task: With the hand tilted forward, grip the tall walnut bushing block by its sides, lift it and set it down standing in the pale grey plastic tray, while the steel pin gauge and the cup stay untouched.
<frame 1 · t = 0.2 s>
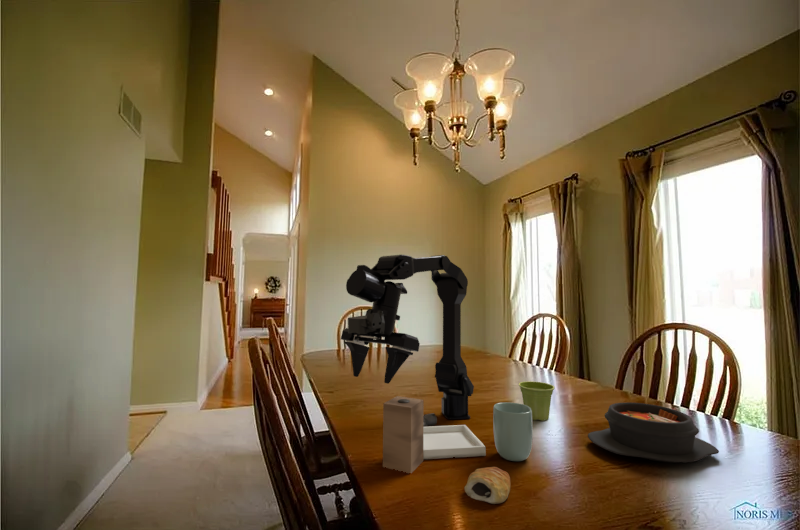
hand: (370, 379, 78), 15 cm above the table, tool tilted 15°, fingers open, 9 cm apart
tray: (446, 444, 82), on the table
cup: (513, 458, 76), on the table
bushing block: (403, 463, 72), on the table
pastry: (489, 493, 62), on the table
plant pot: (537, 418, 101), on the table
casserole: (650, 452, 79), on the table
pin gauge: (415, 428, 92), on the table
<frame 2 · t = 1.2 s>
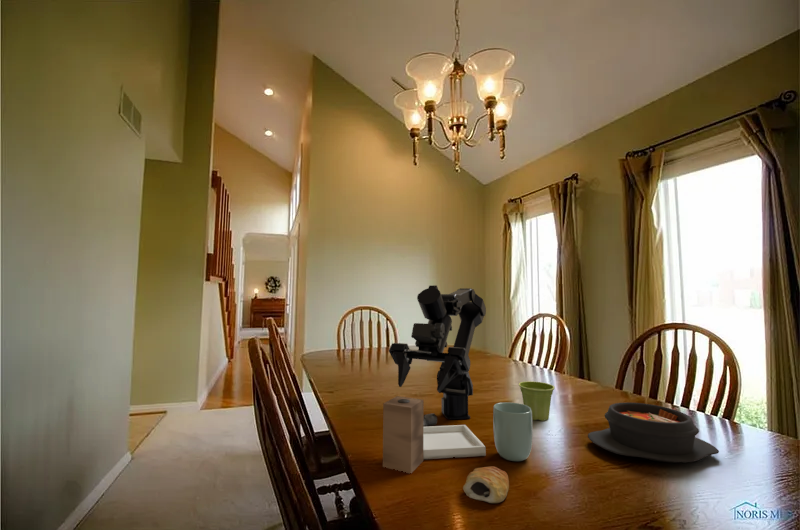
hand: (418, 388, 80), 13 cm above the table, tool tilted 45°, fingers open, 9 cm apart
nothing on the table moved.
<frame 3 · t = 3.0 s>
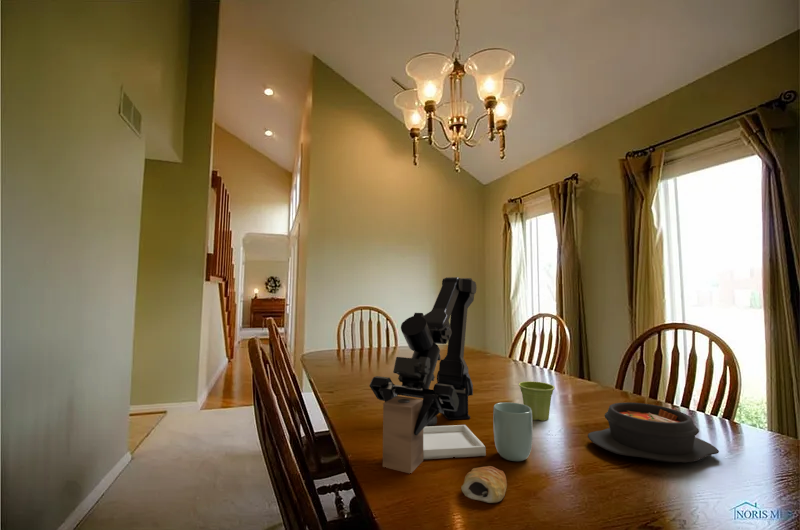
hand: (400, 431, 72), 7 cm above the table, tool tilted 45°, fingers closed on bushing block, 6 cm apart
bushing block: (403, 463, 72), on the table, touching gripper
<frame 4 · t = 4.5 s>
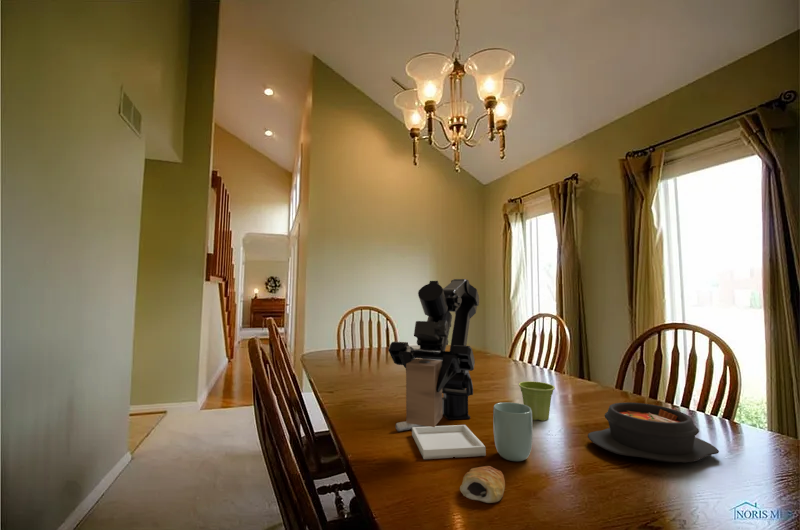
hand: (422, 389, 76), 14 cm above the table, tool tilted 45°, fingers closed on bushing block, 6 cm apart
bushing block: (424, 420, 77), point 7 cm above the table, touching gripper
everything else where it was.
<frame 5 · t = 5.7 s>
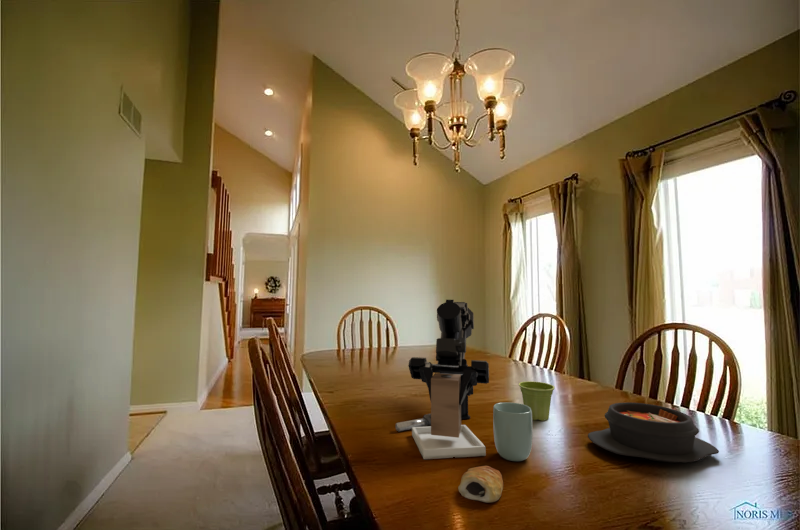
hand: (445, 402, 81), 9 cm above the table, tool tilted 45°, fingers closed on bushing block, 6 cm apart
bushing block: (446, 431, 82), point 3 cm above the table, touching gripper
when the fingers open (8 cm above the table, at t = 6.4 s): bushing block drops 1 cm, resting on tray.
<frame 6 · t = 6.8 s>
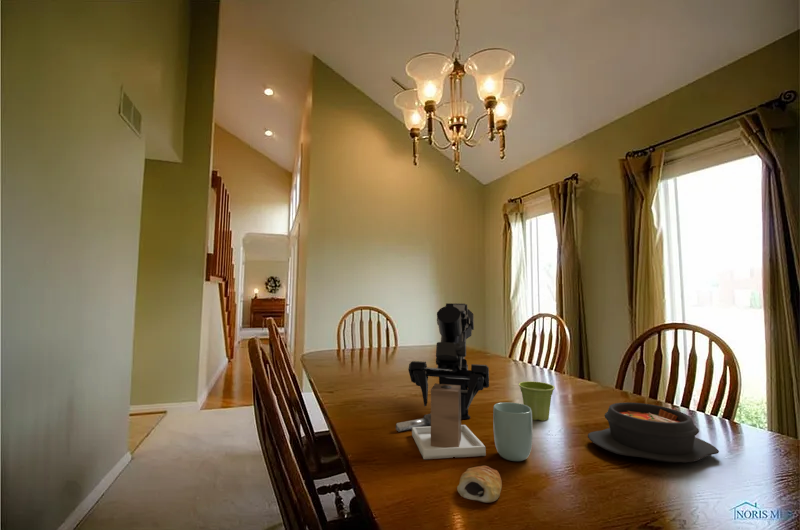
hand: (445, 407, 81), 9 cm above the table, tool tilted 45°, fingers open, 9 cm apart
bushing block: (446, 442, 82), resting on tray
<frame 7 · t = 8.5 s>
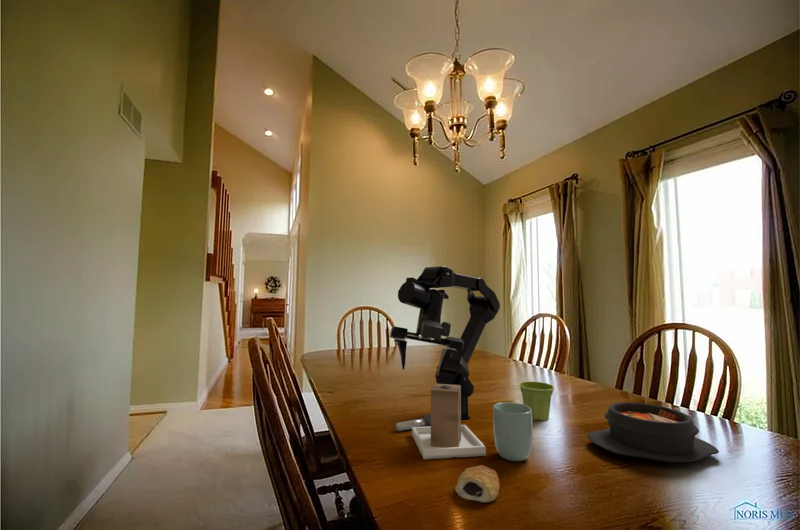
hand: (420, 372, 93), 14 cm above the table, tool pointing down, fingers open, 9 cm apart
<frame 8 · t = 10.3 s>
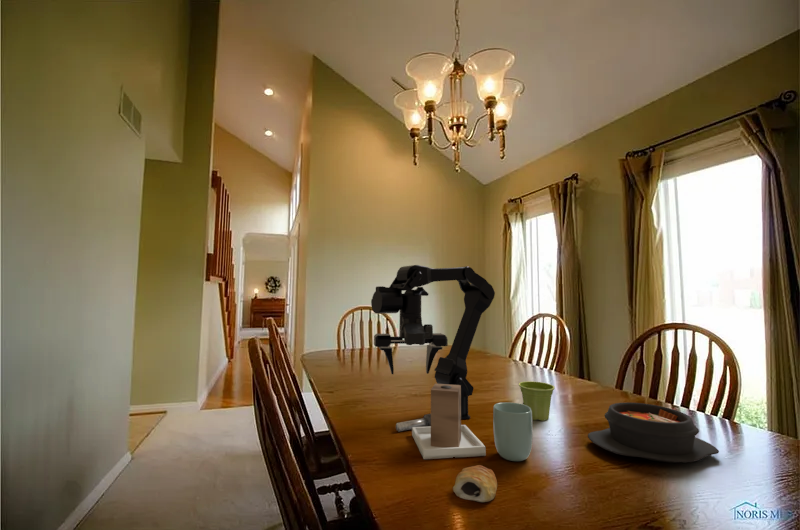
hand: (410, 373, 95), 13 cm above the table, tool pointing down, fingers open, 9 cm apart
at the end: bushing block inside the target area on the tray (0.0 cm from its centre), point 0.5 cm above the tray's base; bushing block tilted 0°; the gripper is holding nothing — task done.
